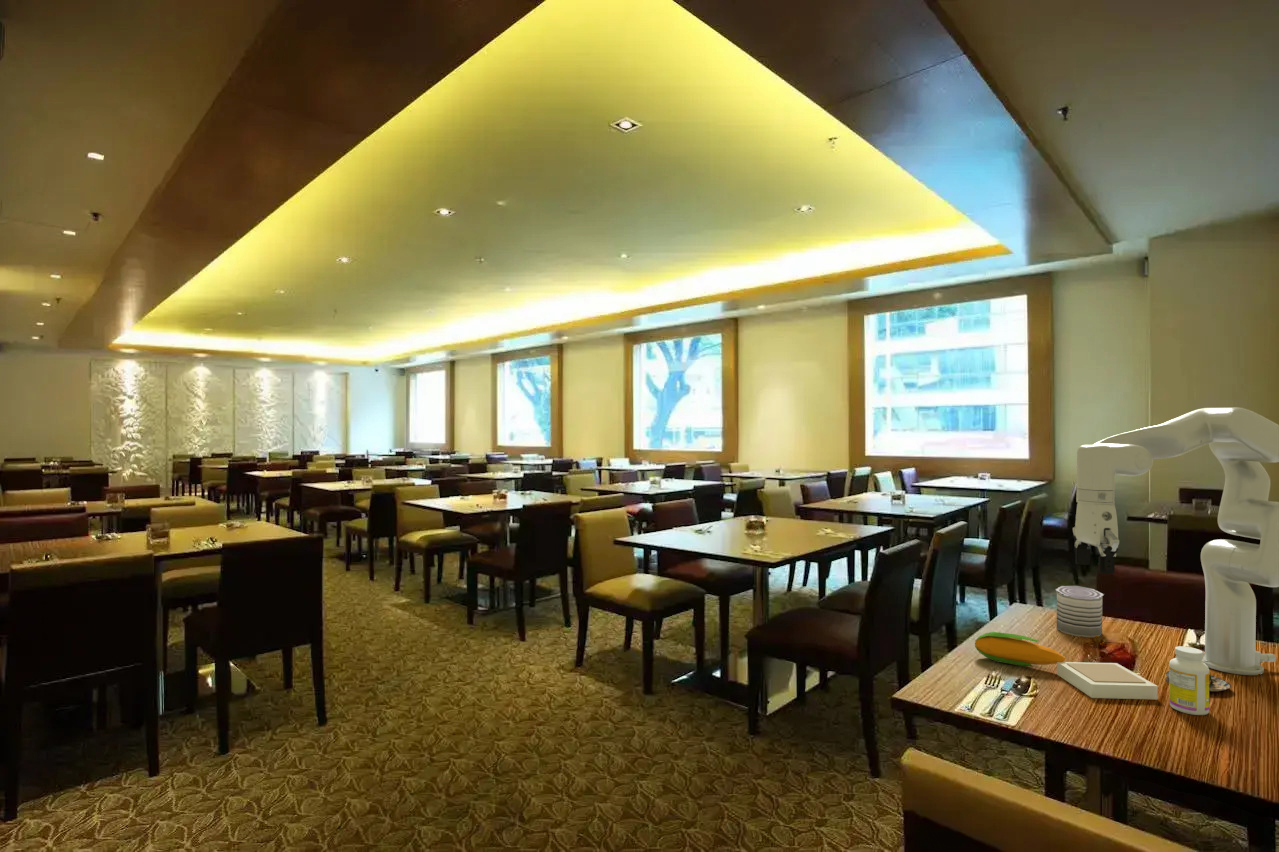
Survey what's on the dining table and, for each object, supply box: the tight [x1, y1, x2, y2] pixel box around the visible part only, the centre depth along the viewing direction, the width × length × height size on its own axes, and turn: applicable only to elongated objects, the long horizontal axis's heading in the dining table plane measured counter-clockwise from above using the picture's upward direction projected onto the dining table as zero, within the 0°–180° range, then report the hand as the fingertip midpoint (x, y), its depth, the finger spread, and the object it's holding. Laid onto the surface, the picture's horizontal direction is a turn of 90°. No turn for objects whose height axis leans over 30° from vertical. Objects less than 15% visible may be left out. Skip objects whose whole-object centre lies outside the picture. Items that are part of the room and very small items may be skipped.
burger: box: [1164, 670, 1233, 692], centre depth 158 cm, size 12×12×8 cm
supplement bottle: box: [1168, 645, 1210, 716], centre depth 144 cm, size 7×7×13 cm
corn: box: [974, 631, 1066, 668], centre depth 171 cm, size 7×8×20 cm
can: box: [1055, 585, 1105, 638], centre depth 198 cm, size 11×11×12 cm
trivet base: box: [1056, 661, 1159, 700], centre depth 157 cm, size 14×14×3 cm
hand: (1094, 568), depth 161 cm, fingers open, 9 cm apart
